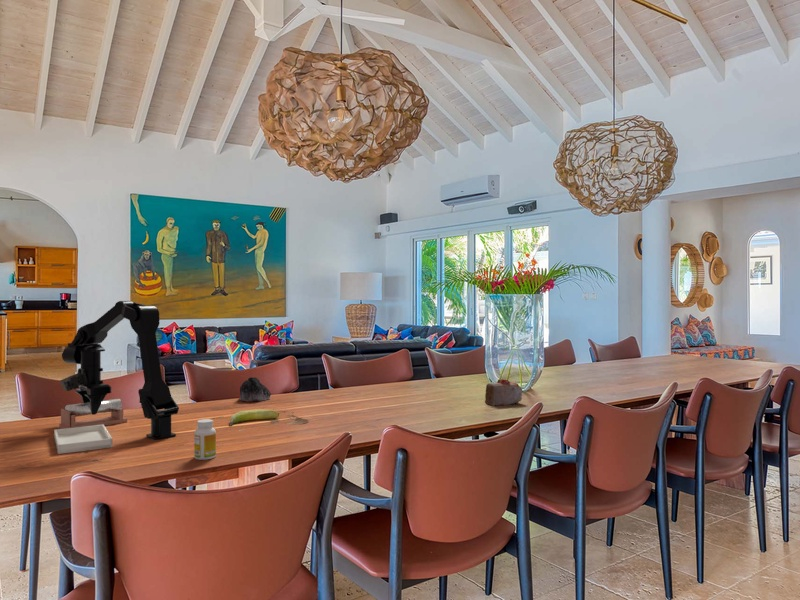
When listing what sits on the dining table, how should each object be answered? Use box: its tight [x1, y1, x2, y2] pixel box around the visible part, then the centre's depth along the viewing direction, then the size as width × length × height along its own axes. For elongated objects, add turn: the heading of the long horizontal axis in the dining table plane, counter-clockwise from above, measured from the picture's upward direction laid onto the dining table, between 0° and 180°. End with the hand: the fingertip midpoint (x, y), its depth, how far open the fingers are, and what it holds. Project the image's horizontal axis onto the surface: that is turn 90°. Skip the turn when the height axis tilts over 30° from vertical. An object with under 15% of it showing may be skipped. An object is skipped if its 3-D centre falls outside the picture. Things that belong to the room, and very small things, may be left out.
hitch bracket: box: [58, 407, 128, 429], centre depth 192 cm, size 18×7×6 cm, turn 137°
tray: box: [53, 424, 114, 455], centre depth 170 cm, size 21×13×2 cm, turn 33°
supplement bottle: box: [193, 418, 217, 461], centre depth 156 cm, size 5×5×10 cm
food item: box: [484, 378, 523, 407], centre depth 234 cm, size 14×8×10 cm, turn 116°
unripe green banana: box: [211, 408, 309, 432], centre depth 200 cm, size 35×27×4 cm
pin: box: [64, 398, 123, 418], centre depth 192 cm, size 16×4×4 cm, turn 137°
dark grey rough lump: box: [239, 376, 272, 402], centre depth 240 cm, size 13×14×10 cm
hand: (90, 413), depth 191 cm, fingers open, 5 cm apart
